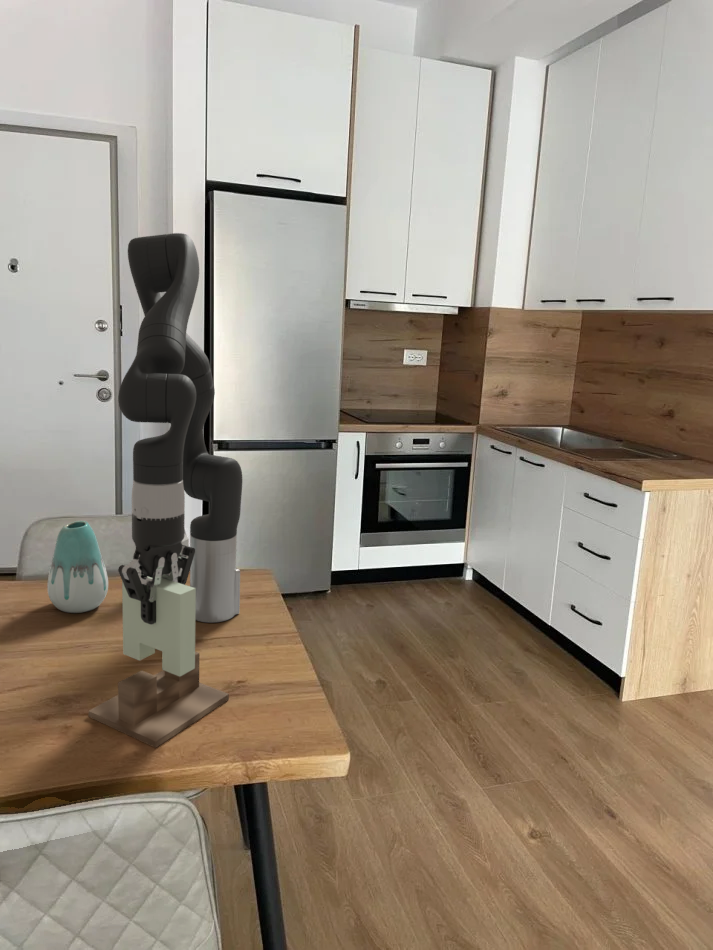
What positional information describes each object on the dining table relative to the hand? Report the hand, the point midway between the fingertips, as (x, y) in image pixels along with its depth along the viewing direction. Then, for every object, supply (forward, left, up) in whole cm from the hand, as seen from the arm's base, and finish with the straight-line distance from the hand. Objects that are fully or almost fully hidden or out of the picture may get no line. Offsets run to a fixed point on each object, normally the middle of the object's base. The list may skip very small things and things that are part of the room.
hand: (158, 618), depth 109 cm
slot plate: (0, 0, -15) cm, 15 cm away
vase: (-3, -45, -15) cm, 47 cm away
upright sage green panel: (0, 0, -7) cm, 7 cm away
